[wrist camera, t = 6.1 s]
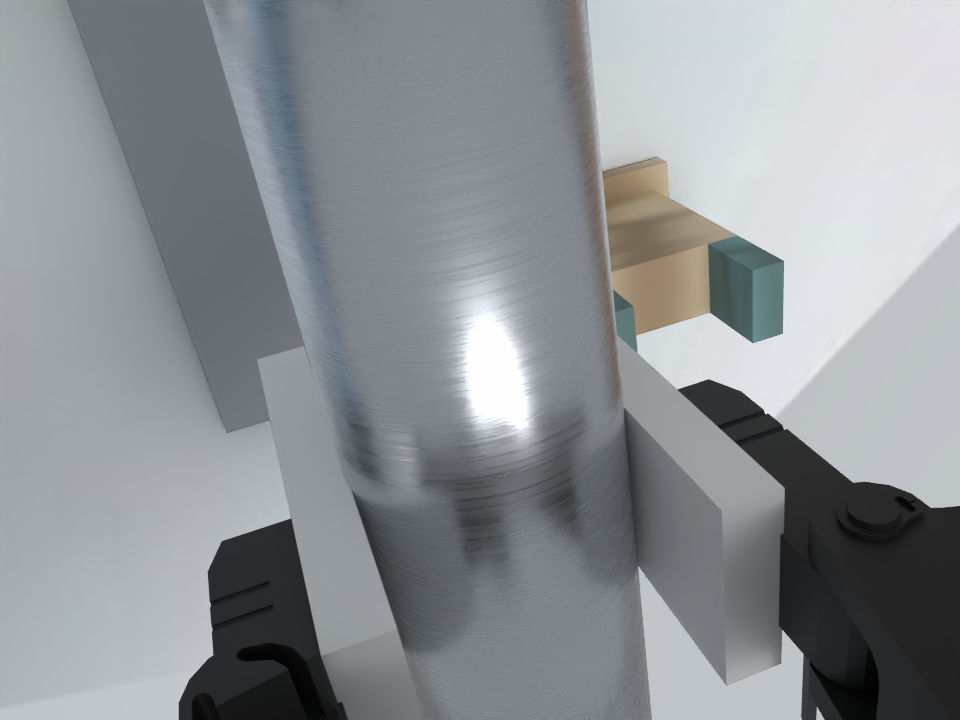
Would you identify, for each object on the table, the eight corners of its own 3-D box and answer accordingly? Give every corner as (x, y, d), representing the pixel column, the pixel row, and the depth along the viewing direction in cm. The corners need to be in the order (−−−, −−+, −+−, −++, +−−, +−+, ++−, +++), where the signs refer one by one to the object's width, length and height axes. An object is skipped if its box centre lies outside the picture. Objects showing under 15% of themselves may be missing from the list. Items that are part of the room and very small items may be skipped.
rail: (624, 786, 19) (731, 988, 15) (441, 864, 18) (509, 1096, 14) (474, -446, 9) (686, -696, 5) (45, -401, 8) (-47, -659, 4)
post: (499, 312, 38) (594, 421, 30) (482, 204, 36) (579, 291, 27) (663, 263, 40) (796, 355, 31) (657, 157, 37) (799, 226, 29)
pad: (225, 425, 36) (226, 433, 36) (0, -189, 25) (-4, -191, 25) (473, 351, 38) (477, 357, 38) (362, -245, 28) (366, -248, 27)
